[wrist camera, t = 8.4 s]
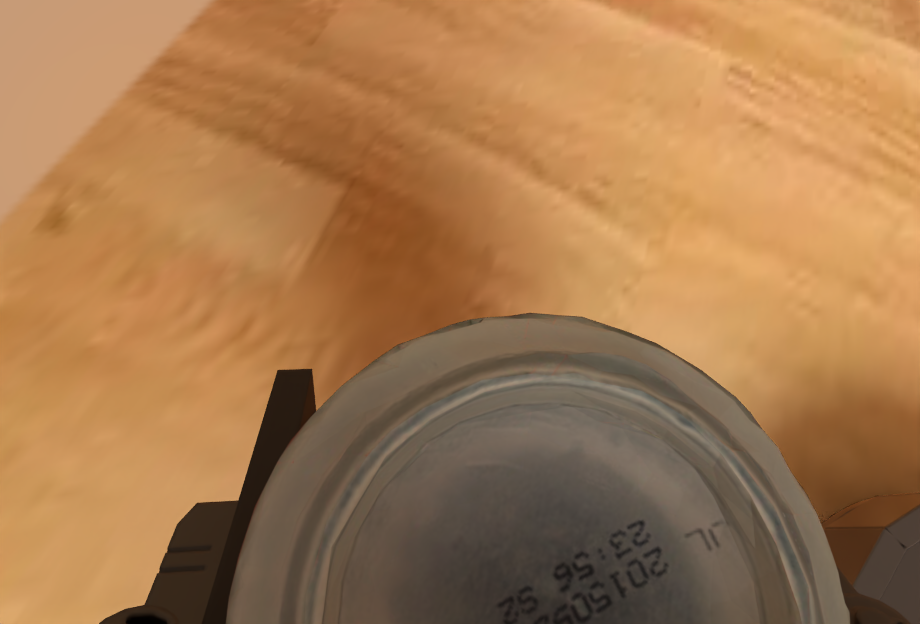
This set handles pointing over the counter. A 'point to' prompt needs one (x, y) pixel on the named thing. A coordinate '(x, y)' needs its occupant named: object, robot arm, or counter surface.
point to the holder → (880, 549)
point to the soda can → (533, 493)
